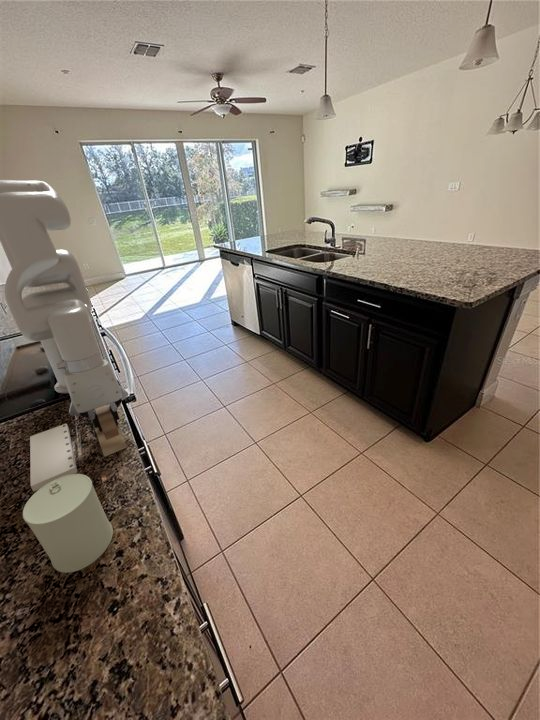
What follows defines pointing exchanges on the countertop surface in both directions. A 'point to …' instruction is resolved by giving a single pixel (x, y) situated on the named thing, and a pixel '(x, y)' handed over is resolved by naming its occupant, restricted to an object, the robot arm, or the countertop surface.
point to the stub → (109, 432)
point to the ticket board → (51, 456)
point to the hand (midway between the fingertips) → (108, 425)
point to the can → (69, 522)
